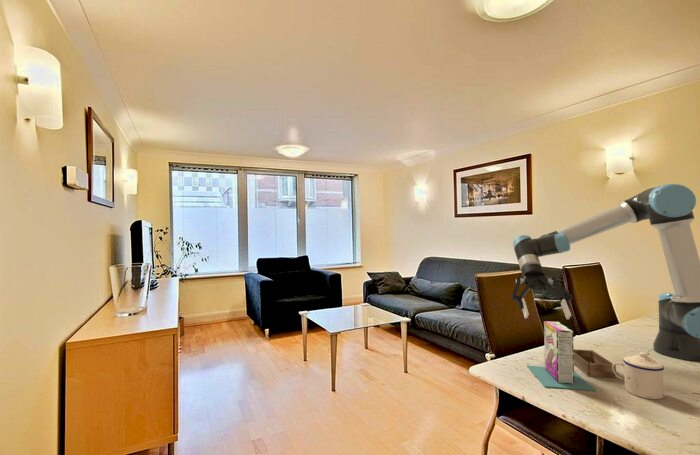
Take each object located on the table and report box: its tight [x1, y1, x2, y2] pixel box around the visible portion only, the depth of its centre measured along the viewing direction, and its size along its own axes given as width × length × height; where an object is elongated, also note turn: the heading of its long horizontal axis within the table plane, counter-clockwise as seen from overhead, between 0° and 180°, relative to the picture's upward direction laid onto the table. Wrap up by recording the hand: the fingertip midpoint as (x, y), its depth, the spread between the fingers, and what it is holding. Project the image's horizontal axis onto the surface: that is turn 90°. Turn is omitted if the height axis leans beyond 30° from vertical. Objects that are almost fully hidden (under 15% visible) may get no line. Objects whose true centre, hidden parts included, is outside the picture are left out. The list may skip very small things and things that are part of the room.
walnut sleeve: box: [573, 348, 617, 379], centre depth 118 cm, size 8×14×4 cm, turn 170°
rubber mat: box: [526, 365, 597, 392], centre depth 111 cm, size 14×16×1 cm
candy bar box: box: [543, 320, 575, 384], centre depth 111 cm, size 11×5×16 cm, turn 169°
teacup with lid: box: [612, 351, 665, 400], centre depth 102 cm, size 12×9×12 cm
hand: (547, 316), depth 119 cm, fingers open, 13 cm apart
